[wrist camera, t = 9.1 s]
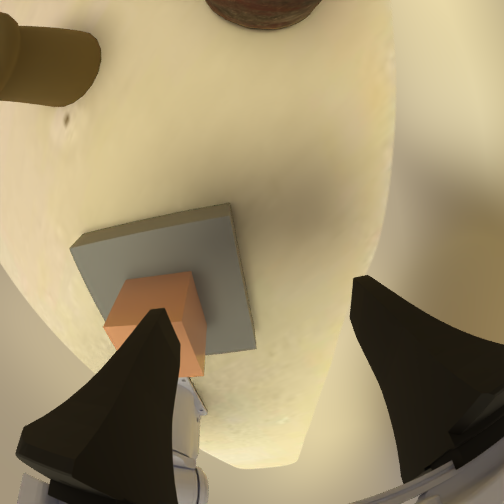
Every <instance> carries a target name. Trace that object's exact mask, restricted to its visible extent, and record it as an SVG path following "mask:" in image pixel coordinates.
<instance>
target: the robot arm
mask: <svg viewBox="0 0 504 504" xmlns="http://www.w3.org/2000/svg"><path fill="white" fill-rule="evenodd" d="M350 320H351V323H352V326H353V329H354V332H355V335H356V337H357V340H358V342H359V344H360V346H361V348H362V350H363V352H364V354H365V356H366V358H367V360H368V362H369V364H370V366H371V368H372V370H373V372H374V374H375V376H376V379H377V381H378V383H379V385H380V388H381V390H382V393H383V396H384V399H385V402H386V405H387V409H388V412H389V416H390V419H391V423H392V427H393V431H394V436H395V440H396V445H397V450H398V457H399V463H400V471H401V477H402V480H403V483H404V484H403V485H401V486H398V487H396V488H393V489H391V490H388V491H386V492H383V493H380V494H378V495H375V496H372V497H369V498H366V499H363V500H360V501H356V502H353V503H349V504H401V503H403V502H405V501H407V500H410V499H412V498H414V497H416V496H418V495H420V494H421V495H420V496H419V497H418V500H417V502H416V503H415V504H503V503H504V345H503V344H499V343H495V342H492V341H488V340H485V339H482V338H479V337H476V336H473V335H471V334H468V333H466V332H463V331H461V330H459V329H456V328H454V327H452V326H450V325H448V324H446V323H444V322H442V321H440V320H438V319H436V318H434V317H432V316H430V315H429V314H427V313H425V312H424V311H422V310H420V309H419V308H417V307H415V306H414V305H412V304H411V303H409V302H407V301H406V300H404V299H403V298H402V297H400V296H398V295H397V294H396V293H394V292H393V291H391V290H390V289H388V288H387V287H385V286H384V285H382V284H381V283H379V282H378V281H376V280H375V279H373V278H372V277H370V276H368V275H365V276H360V277H355V278H353V288H352V299H351V309H350ZM180 351H181V344H180V342H179V339H178V337H177V335H176V333H175V330H174V328H173V326H172V324H171V321H170V319H169V316H168V314H167V312H166V309H165V308H157V309H150V310H149V312H148V313H147V314H146V315H145V316H144V318H143V319H142V320H141V321H140V323H139V324H138V325H137V326H136V328H135V329H134V330H133V332H132V333H131V334H130V335H129V337H128V338H127V339H126V340H125V342H124V343H123V344H122V345H121V347H120V348H119V349H118V350H117V351H116V352H115V354H114V355H113V356H112V357H111V358H110V359H109V361H108V362H107V363H106V364H105V365H104V366H103V367H102V369H101V370H100V371H99V372H98V373H97V374H96V375H95V376H94V377H93V378H92V379H91V380H90V381H89V382H88V383H87V384H85V385H84V386H83V387H82V388H81V389H80V390H78V391H77V392H76V393H75V394H74V395H73V396H71V397H70V398H69V399H68V400H66V401H65V402H64V403H62V404H61V405H60V406H58V407H57V408H55V409H54V410H52V411H51V412H49V413H48V414H46V415H45V416H43V417H41V418H39V419H38V420H36V421H34V422H32V423H30V424H29V425H27V426H25V427H24V428H23V431H22V434H21V437H20V440H19V443H18V446H17V450H16V456H17V457H18V458H19V459H20V460H21V461H22V462H24V463H25V464H27V465H28V466H30V467H31V468H33V469H34V470H36V471H38V472H39V473H41V474H43V475H44V476H46V477H48V478H50V479H51V480H50V484H48V483H46V482H43V481H41V480H39V479H37V478H35V477H33V476H31V475H28V474H26V473H24V474H23V478H22V482H21V486H20V491H19V496H18V501H17V504H207V502H208V495H209V486H208V480H207V476H206V474H205V473H204V472H203V470H202V469H201V468H200V467H197V466H196V458H197V456H198V454H199V436H200V415H207V410H206V408H205V406H204V405H203V403H202V401H201V400H200V398H199V396H198V394H197V392H196V391H195V389H194V387H193V385H192V383H191V382H190V380H189V378H188V377H179V370H180ZM178 377H179V378H178ZM422 493H423V494H422Z"/></svg>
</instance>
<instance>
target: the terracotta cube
mask: <svg viewBox="0 0 504 504" xmlns="http://www.w3.org/2000/svg"><path fill="white" fill-rule="evenodd" d="M157 308H165V309H166V312H167V314H168V316H169V319H170V321H171V324H172V326H173V328H174V330H175V333H176V335H177V337H178V339H179V342H180V344H181V351H180V370H179V377H197V376H204V366H205V348H206V333H207V323H206V320H205V317H204V313H203V310H202V307H201V303H200V300H199V297H198V293H197V290H196V286H195V283H194V279H193V276H192V272H191V271H188V272H180V273H173V274H165V275H158V276H150V277H143V278H135V279H128V280H125V282H124V284H123V286H122V288H121V290H120V292H119V294H118V296H117V298H116V300H115V303H114V305H113V307H112V309H111V311H110V313H109V315H108V317H107V320H106V322H105V324H104V326H103V328H104V330H105V331H106V333H107V335H108V336H109V338H110V340H111V342H112V343H113V345H114V346H115V348H116V350H118V349H119V348H120V347H121V345H122V344H123V343H124V342H125V340H126V339H127V338H128V337H129V335H130V334H131V333H132V332H133V330H134V329H135V328H136V326H137V325H138V324H139V323H140V321H141V320H142V319H143V318H144V316H145V315H146V314H147V313H148V312H149V310H150V309H157ZM179 377H178V378H179Z"/></svg>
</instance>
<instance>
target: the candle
mask: <svg viewBox="0 0 504 504" xmlns="http://www.w3.org/2000/svg"><path fill="white" fill-rule="evenodd" d="M206 2H207V4H208V5H209V6H210V8H211V9H212V10H213V11H214V12H216V13H217V14H218V15H219V16H222V17H224V18H225V19H226V20H229V21H232V22H234V23H237V24H239V25H242V26H245V27H249V28H261V29H279V28H283V27H287V26H291V25H293V24H296V23H297V22H299V21H301V20H303V19H305V18H306V17H307V16H308V15H309V14H310V13H311V12H312V10H313V9H314V8H315V7H316V6H317V5H318V4H319V3H320V2H321V0H206Z"/></svg>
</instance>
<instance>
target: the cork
mask: <svg viewBox="0 0 504 504" xmlns="http://www.w3.org/2000/svg"><path fill="white" fill-rule="evenodd" d="M100 62H101V49H100V46H99V44H98V41H97V39H96V38H94V37H93V36H92V35H91V34H90V33H86V32H83V31H77V30H69V29H61V28H50V27H35V26H18V23H17V22H16V21H15V20H14V19H13V18H12V17H11V16H10V15H8V14H6V13H2V12H0V101H12V102H22V103H30V104H38V105H46V106H52V107H64V106H66V105H69V104H72V103H74V102H75V101H76V100H78V99H79V98H80V97H82V96H83V95H84V94H85V93H86V91H87V90H88V89H89V88H90V86H91V85H92V83H93V81H94V79H95V77H96V76H97V74H98V70H99V66H100Z"/></svg>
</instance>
